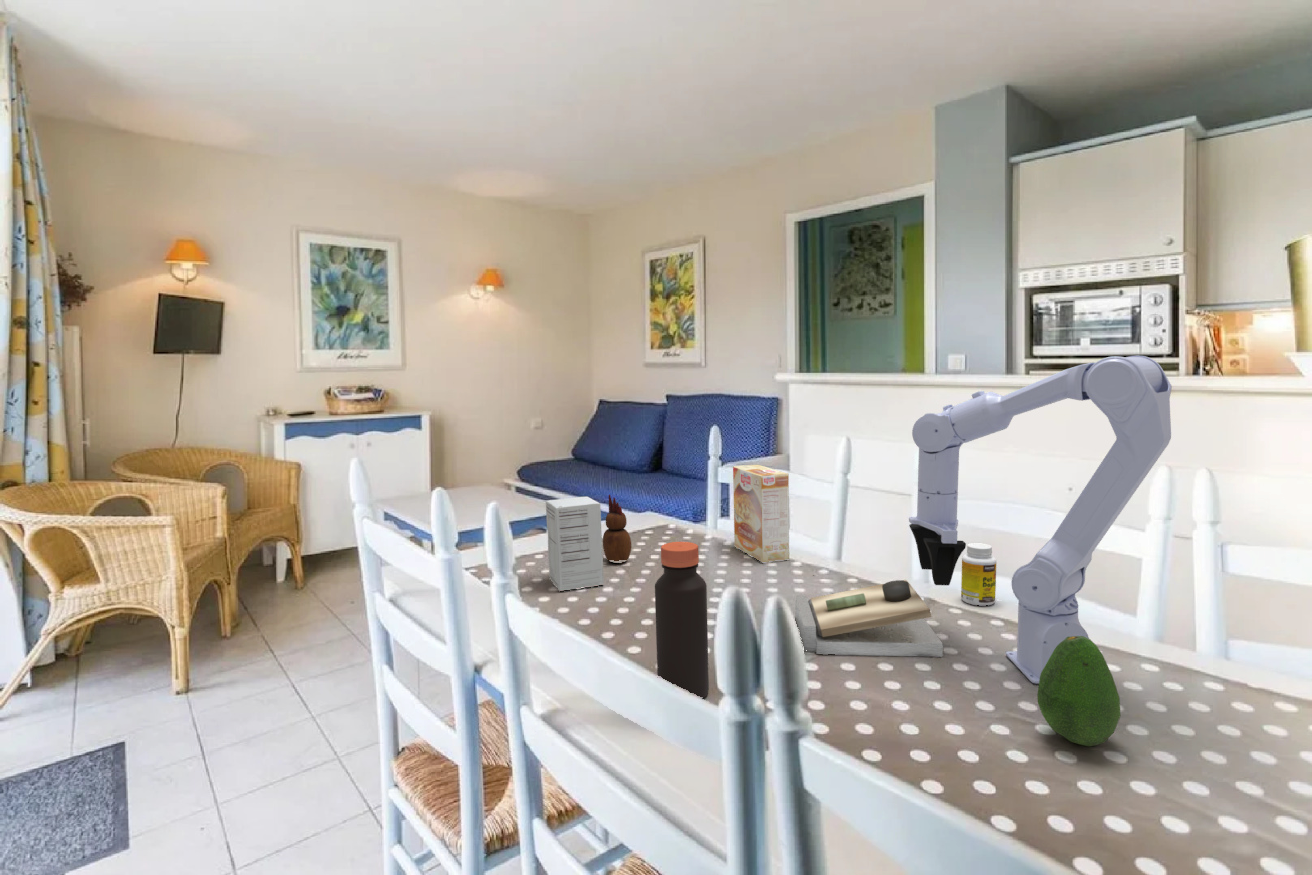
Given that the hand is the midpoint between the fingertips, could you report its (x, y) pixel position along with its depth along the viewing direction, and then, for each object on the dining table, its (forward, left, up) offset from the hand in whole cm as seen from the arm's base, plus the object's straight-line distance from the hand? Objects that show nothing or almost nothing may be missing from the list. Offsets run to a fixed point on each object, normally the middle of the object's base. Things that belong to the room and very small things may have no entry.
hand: (934, 576), depth 108 cm
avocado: (-30, -7, -10) cm, 32 cm away
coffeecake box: (+47, +25, -10) cm, 54 cm away
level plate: (0, +11, -6) cm, 12 cm away
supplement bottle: (+16, -12, -10) cm, 22 cm away
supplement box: (+25, +63, -10) cm, 68 cm away
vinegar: (-21, +38, -10) cm, 45 cm away
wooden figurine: (+40, +57, -10) cm, 70 cm away
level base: (0, +10, -10) cm, 14 cm away
